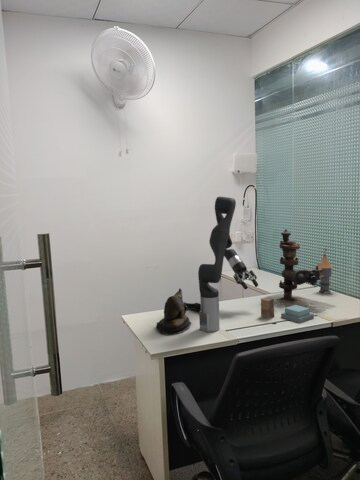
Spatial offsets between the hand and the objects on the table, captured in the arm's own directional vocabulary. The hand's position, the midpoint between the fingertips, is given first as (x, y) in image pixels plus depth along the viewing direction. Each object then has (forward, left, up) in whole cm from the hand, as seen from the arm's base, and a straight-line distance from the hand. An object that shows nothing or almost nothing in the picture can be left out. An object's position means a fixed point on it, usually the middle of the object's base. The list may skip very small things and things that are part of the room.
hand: (251, 287), depth 217 cm
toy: (-21, +27, -15) cm, 37 cm away
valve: (+34, -5, -15) cm, 38 cm away
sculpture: (-49, +10, -15) cm, 52 cm away
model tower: (+66, -2, -15) cm, 68 cm away
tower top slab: (+10, -23, -12) cm, 28 cm away
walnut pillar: (0, -11, -14) cm, 18 cm away
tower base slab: (+10, -23, -15) cm, 30 cm away
